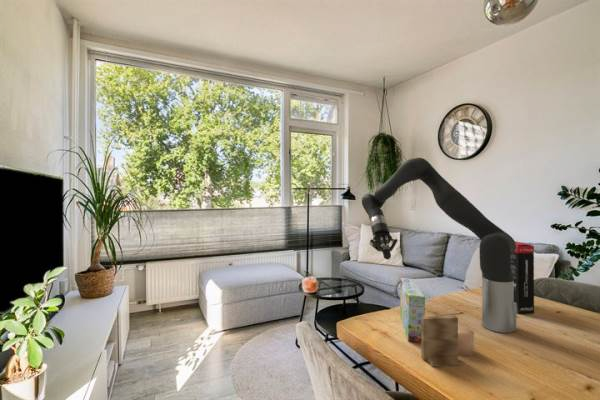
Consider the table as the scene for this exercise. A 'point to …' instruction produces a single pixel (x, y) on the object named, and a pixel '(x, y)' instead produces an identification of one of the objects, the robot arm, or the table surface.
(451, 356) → the walnut bookend
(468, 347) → the pinkish-brown rounded piece
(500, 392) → the table surface
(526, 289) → the graphics card box
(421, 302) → the snack box
